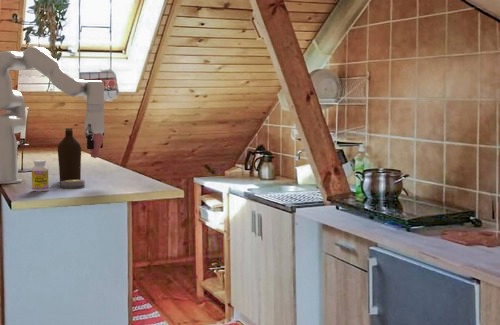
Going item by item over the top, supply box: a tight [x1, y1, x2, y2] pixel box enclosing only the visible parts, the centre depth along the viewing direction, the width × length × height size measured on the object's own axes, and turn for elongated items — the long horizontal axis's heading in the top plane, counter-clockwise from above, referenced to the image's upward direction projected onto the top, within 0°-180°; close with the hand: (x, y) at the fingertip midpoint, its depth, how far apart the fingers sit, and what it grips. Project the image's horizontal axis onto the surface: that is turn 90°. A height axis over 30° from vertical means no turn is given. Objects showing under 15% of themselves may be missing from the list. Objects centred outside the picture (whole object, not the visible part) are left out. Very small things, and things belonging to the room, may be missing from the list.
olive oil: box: [57, 127, 82, 183], centre depth 301 cm, size 11×11×25 cm
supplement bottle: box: [31, 159, 49, 193], centre depth 273 cm, size 7×7×13 cm
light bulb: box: [89, 133, 104, 159], centre depth 288 cm, size 7×7×12 cm
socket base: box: [60, 179, 86, 189], centre depth 285 cm, size 10×10×3 cm
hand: (94, 148), depth 288 cm, fingers closed on light bulb, 7 cm apart
